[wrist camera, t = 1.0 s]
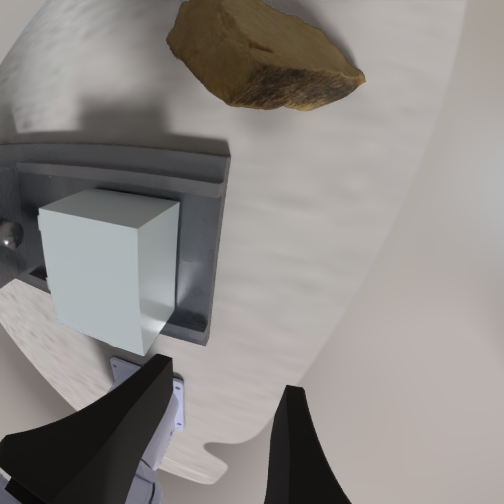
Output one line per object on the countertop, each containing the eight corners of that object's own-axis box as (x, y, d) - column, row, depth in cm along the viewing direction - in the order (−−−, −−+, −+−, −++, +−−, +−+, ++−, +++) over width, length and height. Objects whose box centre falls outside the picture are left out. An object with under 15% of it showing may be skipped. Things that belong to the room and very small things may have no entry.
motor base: (209, 338, 23) (185, 393, 17) (8, 268, 25) (-27, 292, 19) (231, 156, 17) (199, 168, 12) (-4, 144, 19) (-49, 156, 14)
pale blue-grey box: (174, 330, 21) (146, 377, 17) (81, 300, 22) (45, 334, 17) (179, 201, 17) (137, 228, 13) (71, 185, 18) (20, 204, 13)
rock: (121, 44, 13) (191, 176, 14) (128, -68, 5) (246, 78, 6) (264, 12, 16) (337, 115, 18) (318, -65, 8) (430, 54, 10)
